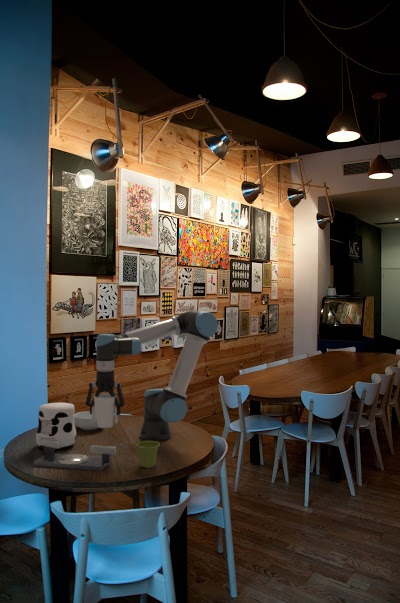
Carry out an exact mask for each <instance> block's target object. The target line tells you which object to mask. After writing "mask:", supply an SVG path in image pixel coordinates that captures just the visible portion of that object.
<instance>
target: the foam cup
mask: <svg viewBox="0 0 400 603" xmlns="http://www.w3.org/2000/svg"><path fill="white" fill-rule="evenodd" d="M115 397H117V395H116V396H115ZM115 397H111V395H110V394H109V393H100V395H99V397H96V396H95V395H93V398H94V402H95V404H94V406H95V409H96V417H97V425H98V427H99V429H109V428H112V427H113V426H114V425H113V424H114V420H115V408H116V405H115V403H114V402H115Z"/></svg>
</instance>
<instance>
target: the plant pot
mask: <svg viewBox="0 0 400 603" xmlns="http://www.w3.org/2000/svg"><path fill="white" fill-rule="evenodd" d="M160 446H161V443H160V442H159V441H151V440H142V441H139V442H137V443H136V447H137V450H138V456H139V466H140V467H141V468H147V469H150V468H154V467H155V466H156V465H157V464H156V463H157V456H158V450H159V447H160Z"/></svg>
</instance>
